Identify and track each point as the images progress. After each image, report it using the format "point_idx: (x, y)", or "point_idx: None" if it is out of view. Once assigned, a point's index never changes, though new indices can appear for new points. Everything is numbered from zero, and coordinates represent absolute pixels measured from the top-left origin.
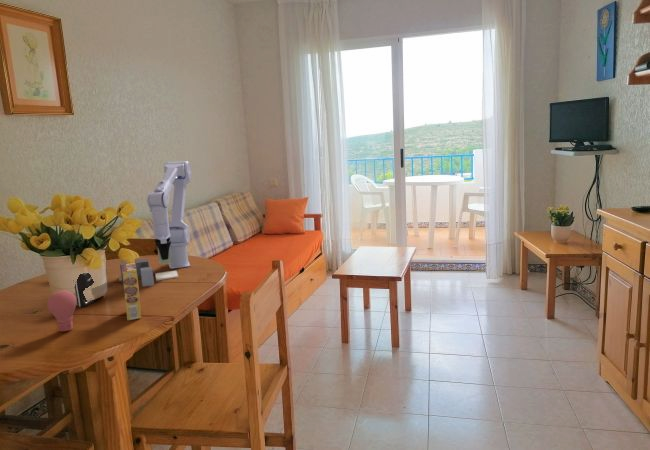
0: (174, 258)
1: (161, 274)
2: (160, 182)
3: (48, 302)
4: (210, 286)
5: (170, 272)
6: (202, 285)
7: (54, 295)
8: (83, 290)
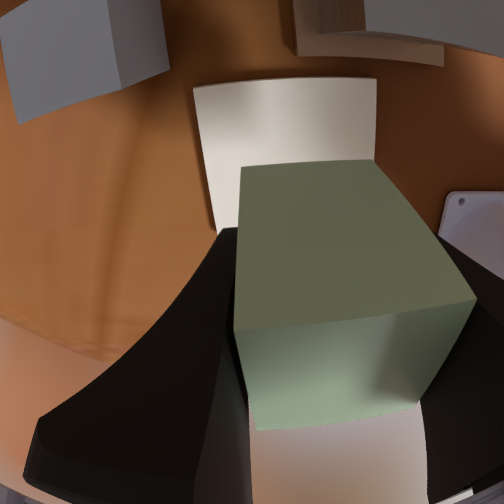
0: (483, 261)
1: (319, 125)
2: None
3: None
4: (54, 341)
5: None
6: (63, 323)
7: None
8: None
